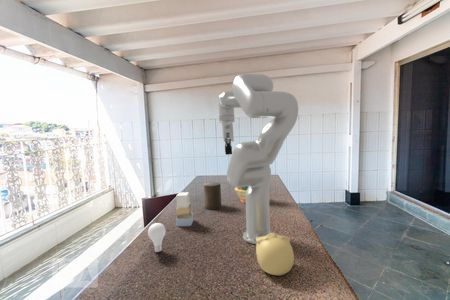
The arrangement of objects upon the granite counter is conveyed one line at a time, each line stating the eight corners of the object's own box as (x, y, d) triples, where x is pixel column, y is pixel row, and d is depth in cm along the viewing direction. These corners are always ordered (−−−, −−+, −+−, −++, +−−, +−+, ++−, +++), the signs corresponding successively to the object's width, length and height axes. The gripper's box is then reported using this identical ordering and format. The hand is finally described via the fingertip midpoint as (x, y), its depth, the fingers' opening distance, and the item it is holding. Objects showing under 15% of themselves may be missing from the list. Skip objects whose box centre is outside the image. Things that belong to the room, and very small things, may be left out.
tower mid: (189, 218, 109) (188, 207, 108) (176, 218, 109) (176, 208, 108) (191, 213, 115) (190, 203, 114) (179, 214, 115) (178, 204, 114)
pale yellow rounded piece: (287, 256, 80) (286, 226, 79) (299, 279, 68) (298, 244, 67) (254, 258, 79) (253, 228, 78) (260, 281, 67) (259, 246, 66)
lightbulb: (160, 245, 92) (158, 218, 90) (170, 250, 87) (168, 222, 86) (146, 252, 87) (143, 224, 86) (156, 258, 83) (153, 228, 82)
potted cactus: (259, 196, 149) (258, 158, 147) (261, 204, 134) (259, 161, 131) (235, 197, 151) (234, 159, 148) (234, 204, 135) (232, 162, 133)
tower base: (191, 226, 109) (190, 218, 108) (176, 226, 109) (175, 218, 109) (193, 220, 116) (193, 212, 115) (179, 220, 116) (179, 213, 116)
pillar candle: (219, 209, 128) (218, 183, 127) (202, 209, 130) (201, 183, 129) (223, 204, 138) (222, 179, 136) (207, 204, 140) (206, 179, 138)
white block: (187, 207, 109) (186, 195, 108) (177, 208, 109) (176, 195, 108) (189, 204, 114) (189, 192, 113) (179, 204, 114) (178, 192, 113)
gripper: (235, 118, 107) (237, 154, 109) (233, 119, 124) (234, 151, 126) (219, 119, 107) (221, 155, 108) (219, 120, 124) (221, 151, 126)
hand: (228, 153), depth 117 cm, fingers open, 9 cm apart
